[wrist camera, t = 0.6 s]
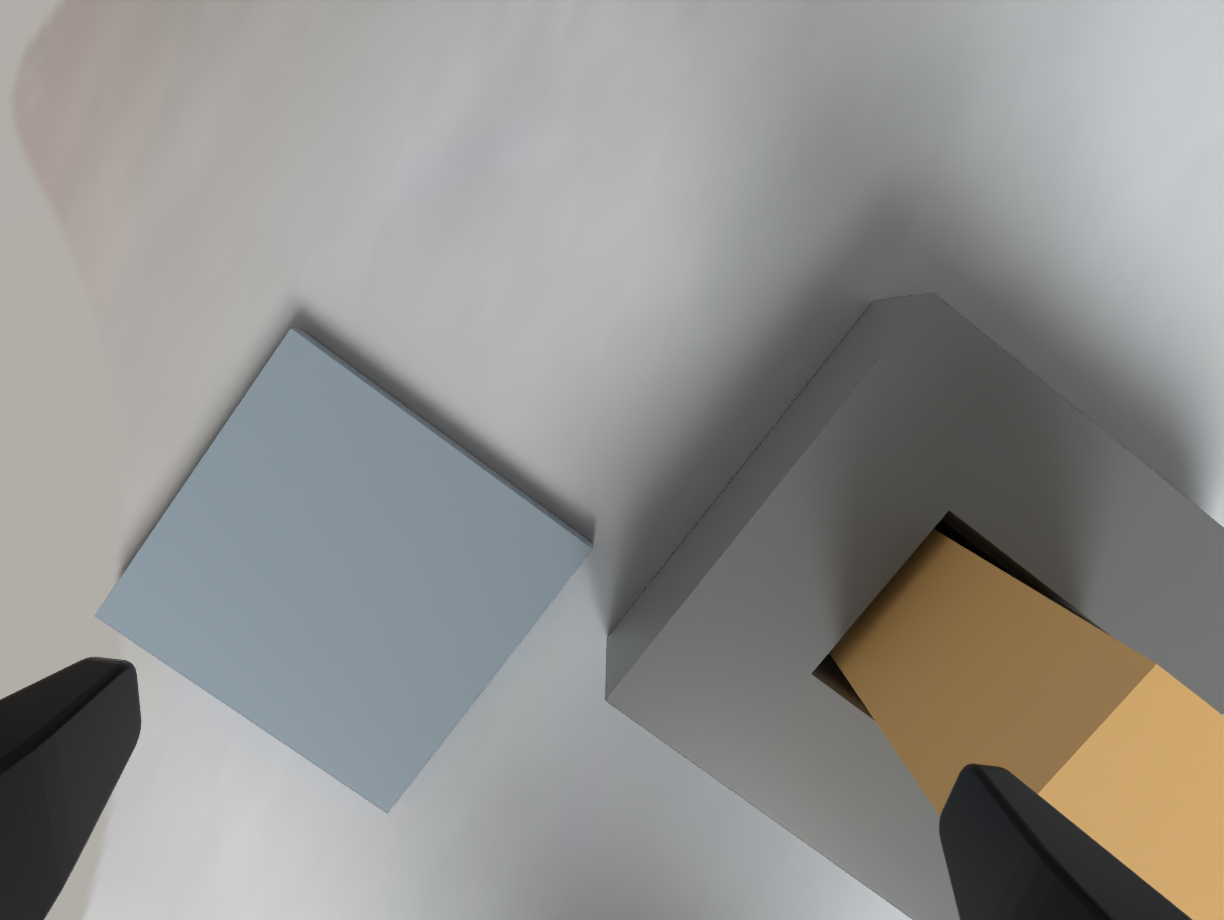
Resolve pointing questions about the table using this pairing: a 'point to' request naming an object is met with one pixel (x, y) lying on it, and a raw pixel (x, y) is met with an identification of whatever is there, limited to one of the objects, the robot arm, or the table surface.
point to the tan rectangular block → (1044, 715)
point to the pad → (342, 572)
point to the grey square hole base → (873, 553)
